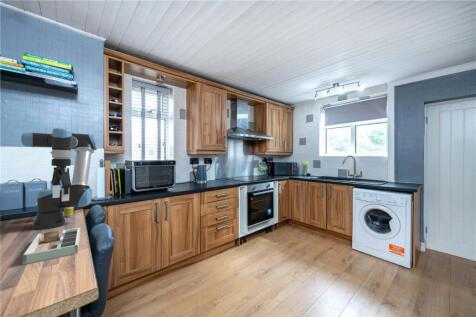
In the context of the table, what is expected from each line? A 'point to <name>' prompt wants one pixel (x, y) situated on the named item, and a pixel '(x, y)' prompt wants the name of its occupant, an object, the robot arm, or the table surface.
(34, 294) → the table surface
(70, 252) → the box
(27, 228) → the table surface
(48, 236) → the brown rounded cylinder
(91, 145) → the robot arm
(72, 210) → the supplement bottle
